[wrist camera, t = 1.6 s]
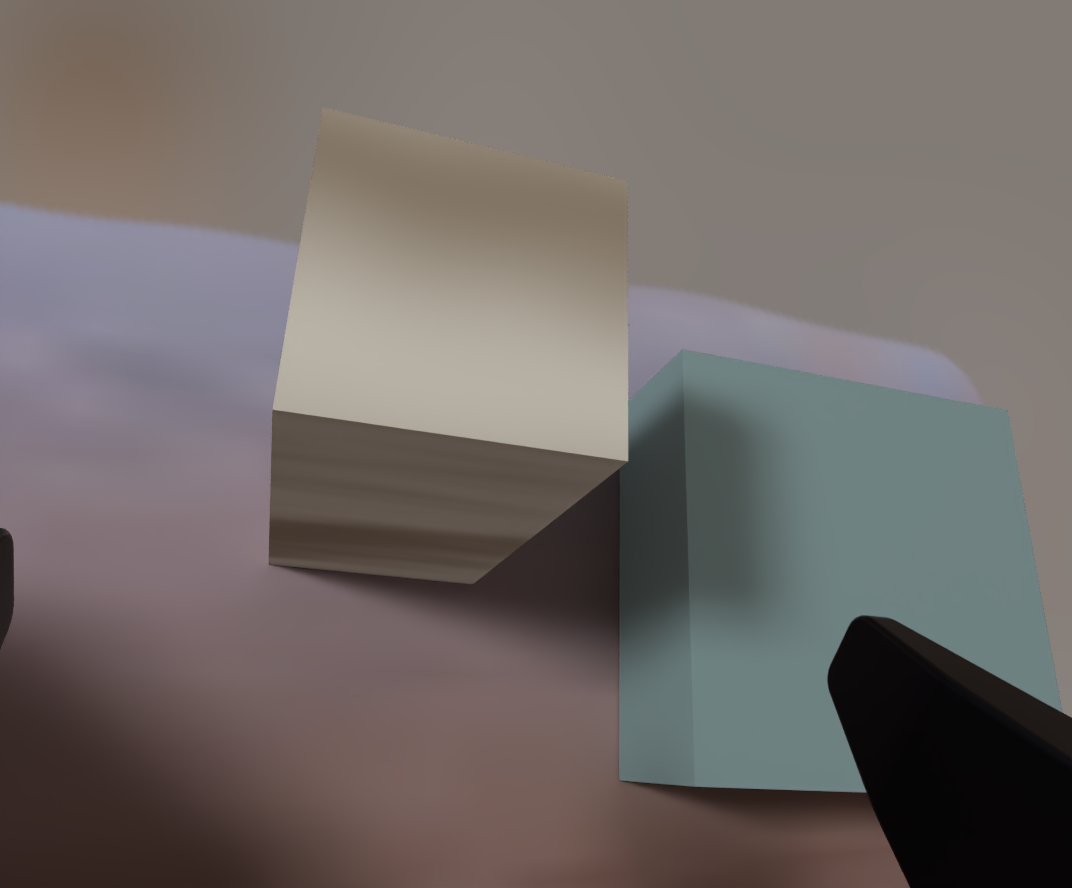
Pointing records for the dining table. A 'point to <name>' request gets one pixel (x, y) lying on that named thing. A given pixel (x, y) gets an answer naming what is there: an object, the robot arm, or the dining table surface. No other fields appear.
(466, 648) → the dining table surface
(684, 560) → the base block
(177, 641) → the dining table surface
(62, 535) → the dining table surface
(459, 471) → the cream block
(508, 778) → the dining table surface
